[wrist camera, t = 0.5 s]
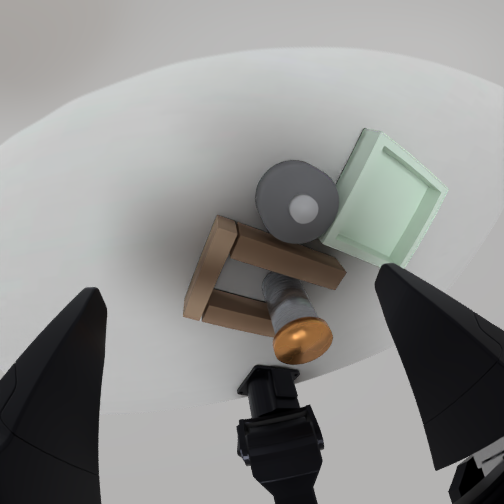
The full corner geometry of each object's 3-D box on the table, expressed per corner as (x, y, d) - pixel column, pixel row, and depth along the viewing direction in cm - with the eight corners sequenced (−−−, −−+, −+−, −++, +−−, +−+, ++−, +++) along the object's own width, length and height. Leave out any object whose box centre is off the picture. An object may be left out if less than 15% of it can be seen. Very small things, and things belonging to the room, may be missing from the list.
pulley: (306, 240, 23) (319, 258, 21) (243, 216, 22) (248, 233, 19) (338, 179, 21) (356, 190, 18) (275, 147, 19) (286, 153, 16)
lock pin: (289, 307, 27) (312, 367, 20) (250, 297, 26) (264, 360, 19) (311, 272, 25) (343, 329, 18) (270, 259, 24) (293, 319, 17)
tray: (386, 262, 26) (399, 275, 24) (311, 230, 23) (322, 244, 21) (431, 181, 22) (448, 189, 20) (364, 128, 19) (381, 131, 17)
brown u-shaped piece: (292, 325, 28) (298, 341, 26) (184, 298, 25) (183, 316, 22) (335, 258, 25) (346, 272, 23) (217, 214, 21) (217, 227, 19)
